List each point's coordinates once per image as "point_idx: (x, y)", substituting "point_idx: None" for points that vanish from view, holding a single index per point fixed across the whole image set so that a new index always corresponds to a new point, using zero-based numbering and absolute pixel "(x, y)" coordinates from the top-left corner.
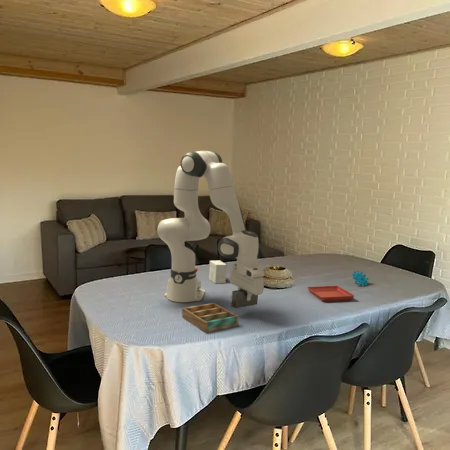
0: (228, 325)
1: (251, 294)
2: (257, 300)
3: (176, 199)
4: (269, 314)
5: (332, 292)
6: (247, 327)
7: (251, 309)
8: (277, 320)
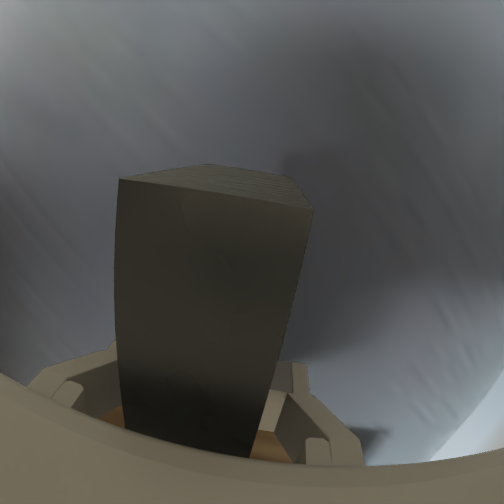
0: None
1: (338, 434)
2: (293, 182)
3: None
4: (389, 120)
5: None
6: (408, 417)
7: (197, 146)
8: (495, 191)
